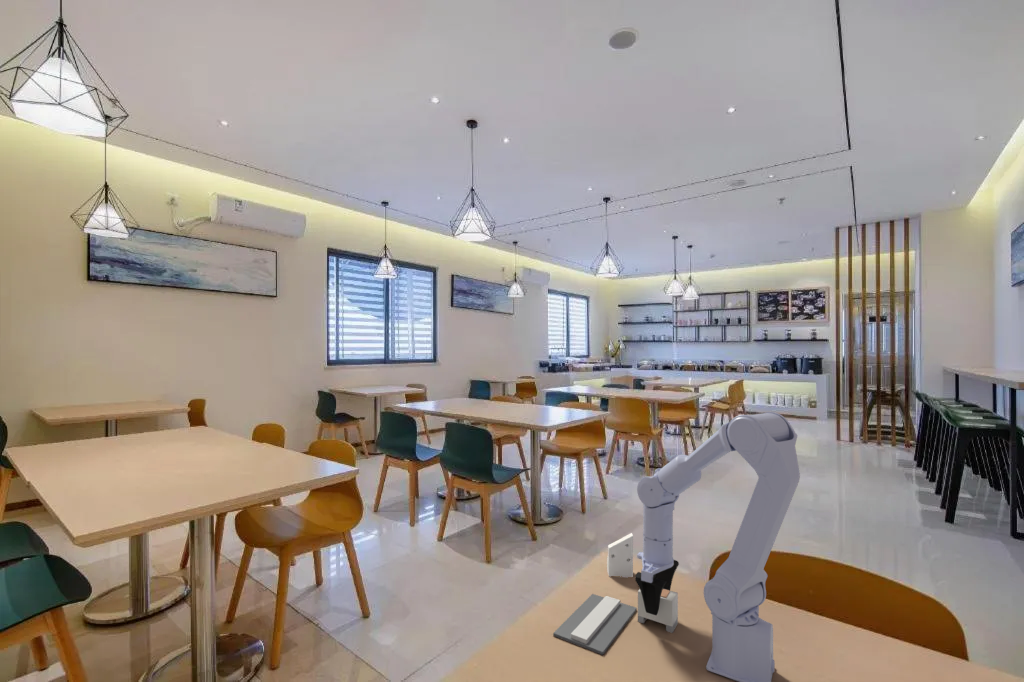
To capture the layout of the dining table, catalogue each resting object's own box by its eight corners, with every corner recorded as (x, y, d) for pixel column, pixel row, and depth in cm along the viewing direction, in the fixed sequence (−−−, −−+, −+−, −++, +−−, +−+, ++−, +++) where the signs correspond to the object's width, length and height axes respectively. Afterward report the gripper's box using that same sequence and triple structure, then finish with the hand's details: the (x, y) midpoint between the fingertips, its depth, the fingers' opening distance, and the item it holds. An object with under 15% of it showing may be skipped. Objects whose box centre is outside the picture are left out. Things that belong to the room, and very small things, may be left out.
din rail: (636, 610, 98) (636, 603, 98) (602, 655, 83) (602, 647, 83) (592, 596, 103) (592, 590, 103) (553, 635, 88) (553, 628, 88)
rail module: (677, 623, 93) (677, 591, 93) (672, 633, 90) (672, 600, 90) (644, 612, 97) (644, 582, 97) (637, 621, 93) (637, 590, 94)
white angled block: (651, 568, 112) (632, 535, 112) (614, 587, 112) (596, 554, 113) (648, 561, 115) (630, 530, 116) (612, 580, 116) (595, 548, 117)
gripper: (649, 521, 102) (648, 584, 102) (625, 542, 90) (625, 614, 90) (682, 528, 98) (682, 593, 98) (662, 551, 86) (662, 626, 86)
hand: (657, 604), depth 93 cm, fingers open, 7 cm apart
